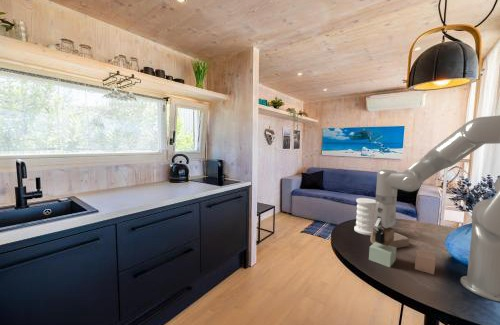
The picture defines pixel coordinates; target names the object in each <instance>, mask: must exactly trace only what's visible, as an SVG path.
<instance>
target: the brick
mask: <svg viewBox="0 0 500 325" xmlns="http://www.w3.org/2000/svg"><path fill="white" fill-rule="evenodd" d="M372 238H373V235H370V239H369V240H370V243H371V245H372V244H373V243H375V242H374V241H372ZM390 246H393V247H397V248H396V249H399V248H404V247H409V246H410V240H409V238H408V237H407V236H405V235H403V234H400V233H398V232H394V243H392V244H390Z"/></svg>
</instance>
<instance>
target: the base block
mask: <svg viewBox="0 0 500 325" xmlns="http://www.w3.org/2000/svg"><path fill="white" fill-rule="evenodd" d="M397 249H398V248H397V247H393V246H390V245H389V246H385V245H382V244H379V243H376V242H375V243H373V244H372V243H371V245H370V246H369V250H368V251H369V252H368V260H369V261H371V262H374V263H377V264H380V265H382V266H385V267H388V268H391V267H392V266H393V265H394V263H395V262H396V259H397Z"/></svg>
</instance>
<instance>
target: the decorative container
mask: <svg viewBox="0 0 500 325" xmlns="http://www.w3.org/2000/svg"><path fill="white" fill-rule="evenodd" d="M355 201H356V203H357V204H356V216H355V219H356V221H355V225H354V226H353V227H354V228H353V229H354V232H356V233H358V234H361V235H364V236H371V235H373V227H374V226H375V223H374V219H375V210H376V204H377V202H376V199H373V198H367V197H358V198H356V200H355Z"/></svg>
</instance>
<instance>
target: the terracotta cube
mask: <svg viewBox="0 0 500 325" xmlns="http://www.w3.org/2000/svg"><path fill="white" fill-rule="evenodd" d="M415 251H416V252H415V260H414V261H415V262H414V263H415V264H414V270H417V271H420V272H424V273H427V274H430V275H435V268H436V253H433V252H429V251H425V250H420V249H416V250H415Z"/></svg>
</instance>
